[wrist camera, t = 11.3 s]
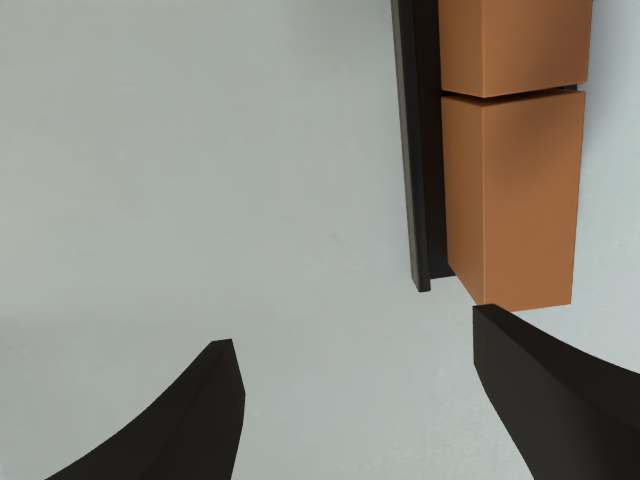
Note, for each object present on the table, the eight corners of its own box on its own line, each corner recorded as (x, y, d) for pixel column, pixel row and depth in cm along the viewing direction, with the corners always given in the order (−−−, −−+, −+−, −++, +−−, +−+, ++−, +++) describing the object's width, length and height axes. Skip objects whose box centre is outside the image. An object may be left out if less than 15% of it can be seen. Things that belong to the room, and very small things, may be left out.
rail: (570, -178, 16) (596, -202, 15) (549, 259, 23) (566, 273, 21) (379, -146, 17) (386, -167, 15) (411, 278, 23) (418, 293, 22)
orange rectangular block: (519, 84, 19) (586, 90, 15) (516, 254, 22) (571, 304, 18) (440, 96, 19) (482, 106, 15) (447, 263, 22) (484, 316, 18)
